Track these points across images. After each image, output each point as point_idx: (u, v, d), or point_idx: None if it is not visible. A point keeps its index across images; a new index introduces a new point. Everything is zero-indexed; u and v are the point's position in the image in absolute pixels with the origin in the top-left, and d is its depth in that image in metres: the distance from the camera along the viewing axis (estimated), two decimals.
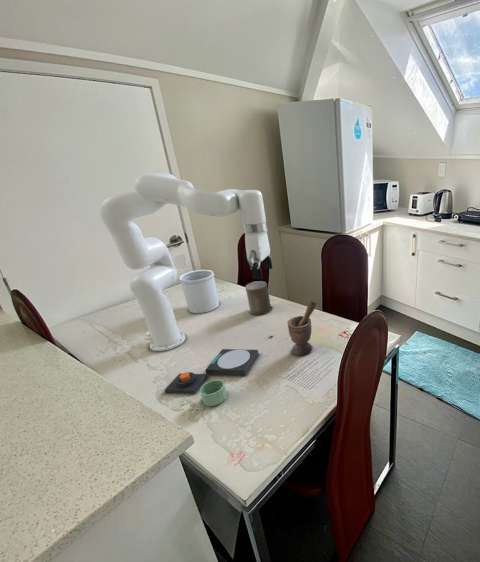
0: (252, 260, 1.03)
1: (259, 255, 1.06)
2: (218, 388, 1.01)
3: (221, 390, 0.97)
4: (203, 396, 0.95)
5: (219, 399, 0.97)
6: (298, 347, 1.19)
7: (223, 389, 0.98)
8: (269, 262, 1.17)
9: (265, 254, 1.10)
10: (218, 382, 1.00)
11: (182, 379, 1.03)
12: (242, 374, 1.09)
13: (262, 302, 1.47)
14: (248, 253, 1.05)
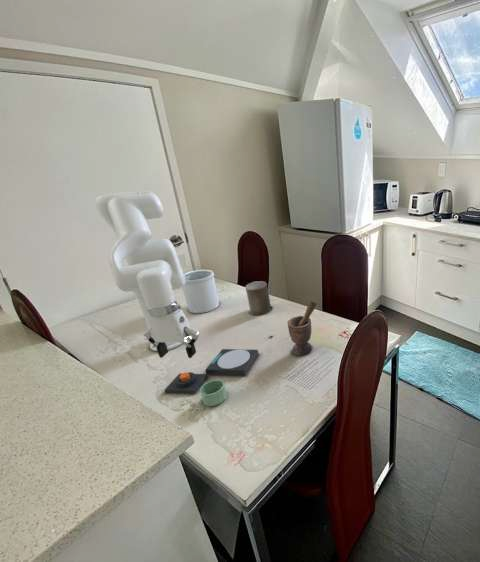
0: (146, 335, 0.97)
1: (152, 335, 0.96)
2: (218, 388, 1.01)
3: (221, 390, 0.97)
4: (203, 396, 0.95)
5: (219, 399, 0.97)
6: (298, 347, 1.19)
7: (223, 389, 0.98)
8: None
9: (165, 339, 0.95)
10: (218, 382, 1.00)
11: (182, 379, 1.03)
12: (242, 374, 1.09)
13: (262, 302, 1.47)
14: None
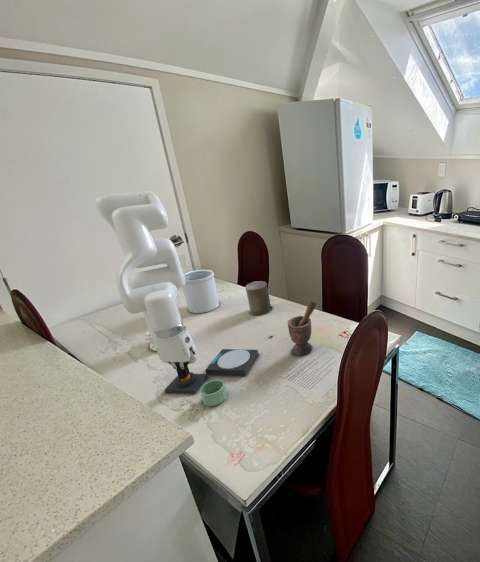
0: (164, 361, 1.01)
1: None
2: (218, 388, 1.01)
3: (221, 390, 0.97)
4: (203, 396, 0.95)
5: (219, 399, 0.97)
6: (298, 347, 1.19)
7: (223, 389, 0.98)
8: None
9: (171, 358, 0.98)
10: (218, 382, 1.00)
11: (182, 380, 1.03)
12: (242, 374, 1.09)
13: (262, 302, 1.47)
14: None
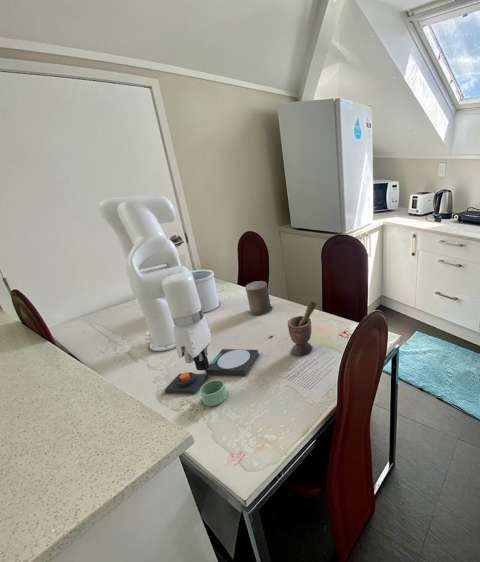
0: (190, 360, 0.88)
1: (192, 351, 0.87)
2: (218, 388, 1.01)
3: (221, 390, 0.97)
4: (203, 396, 0.95)
5: (219, 399, 0.97)
6: (298, 347, 1.19)
7: (223, 389, 0.98)
8: None
9: (202, 346, 0.91)
10: (218, 382, 1.00)
11: (182, 379, 1.03)
12: (242, 374, 1.09)
13: (262, 302, 1.47)
14: (178, 349, 0.87)
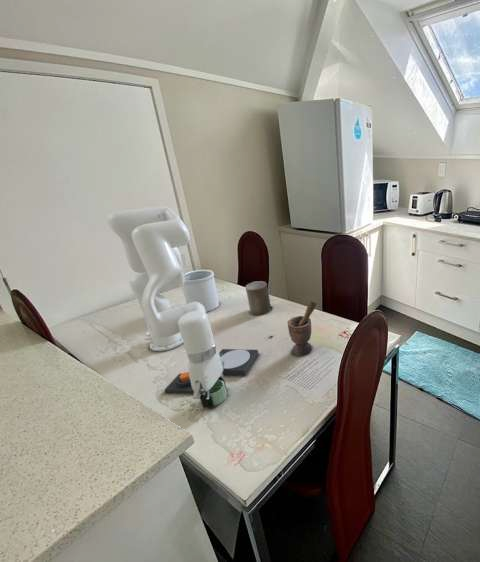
0: (198, 396, 0.89)
1: (206, 385, 0.91)
2: (218, 388, 1.01)
3: (221, 390, 0.97)
4: None
5: (219, 399, 0.97)
6: (298, 347, 1.19)
7: (223, 389, 0.98)
8: None
9: (215, 378, 0.95)
10: (218, 382, 1.00)
11: (182, 379, 1.03)
12: (242, 374, 1.09)
13: (262, 302, 1.47)
14: (193, 383, 0.90)
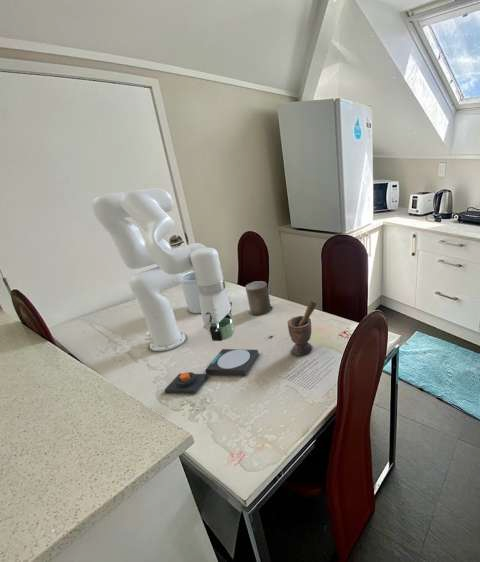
0: (208, 326, 0.96)
1: (215, 317, 0.98)
2: None
3: (229, 325, 1.04)
4: None
5: (227, 334, 1.04)
6: (298, 347, 1.19)
7: (231, 325, 1.05)
8: None
9: (223, 313, 1.02)
10: (226, 320, 1.07)
11: (182, 379, 1.03)
12: (242, 374, 1.09)
13: (262, 302, 1.47)
14: (203, 315, 0.98)
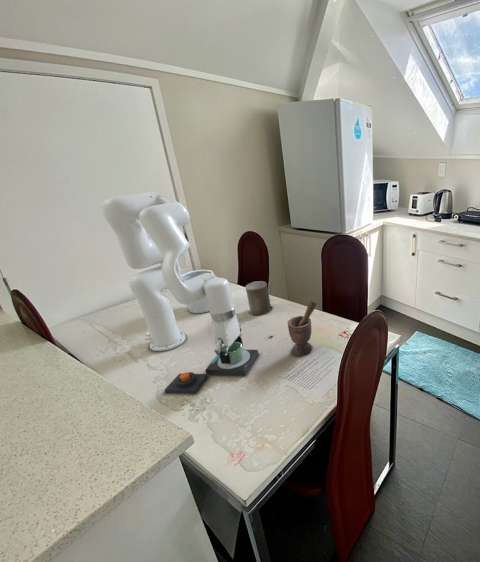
0: (218, 349, 1.03)
1: (226, 342, 1.05)
2: (236, 349, 1.15)
3: (239, 349, 1.11)
4: None
5: (238, 357, 1.11)
6: (298, 347, 1.19)
7: (241, 349, 1.12)
8: (239, 341, 1.16)
9: (234, 338, 1.09)
10: (236, 344, 1.15)
11: (182, 379, 1.03)
12: (242, 374, 1.09)
13: (262, 302, 1.47)
14: (215, 340, 1.05)
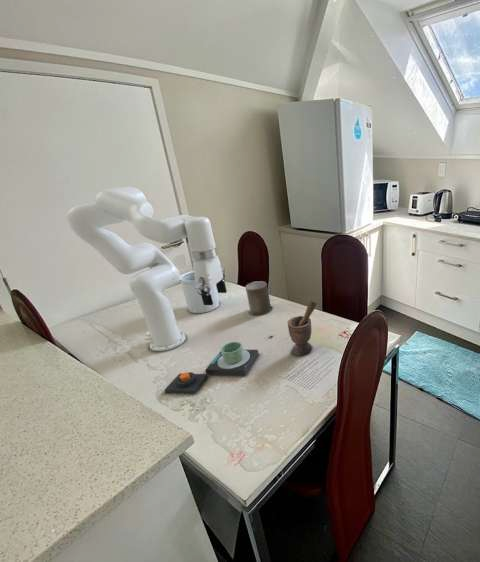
0: (199, 287, 1.03)
1: (208, 282, 1.05)
2: (236, 349, 1.15)
3: (239, 349, 1.11)
4: (224, 354, 1.09)
5: (238, 357, 1.11)
6: (298, 347, 1.19)
7: (241, 349, 1.12)
8: (223, 286, 1.16)
9: (216, 280, 1.10)
10: (236, 344, 1.15)
11: (182, 379, 1.03)
12: (242, 374, 1.09)
13: (262, 302, 1.47)
14: (197, 280, 1.05)
